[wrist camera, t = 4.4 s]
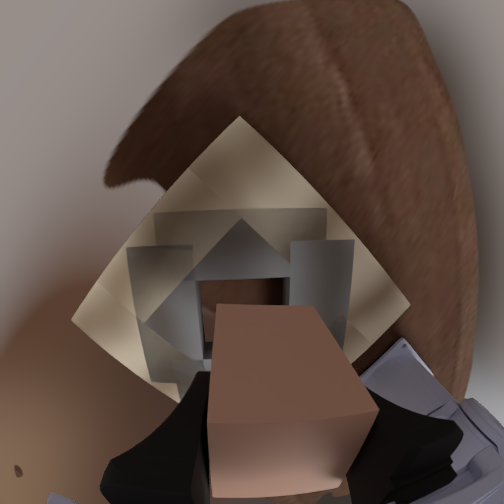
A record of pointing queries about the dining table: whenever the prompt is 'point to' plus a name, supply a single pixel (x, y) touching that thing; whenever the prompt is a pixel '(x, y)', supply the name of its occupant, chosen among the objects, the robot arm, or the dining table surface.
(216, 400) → the peg
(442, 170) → the dining table surface
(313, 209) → the socket board
